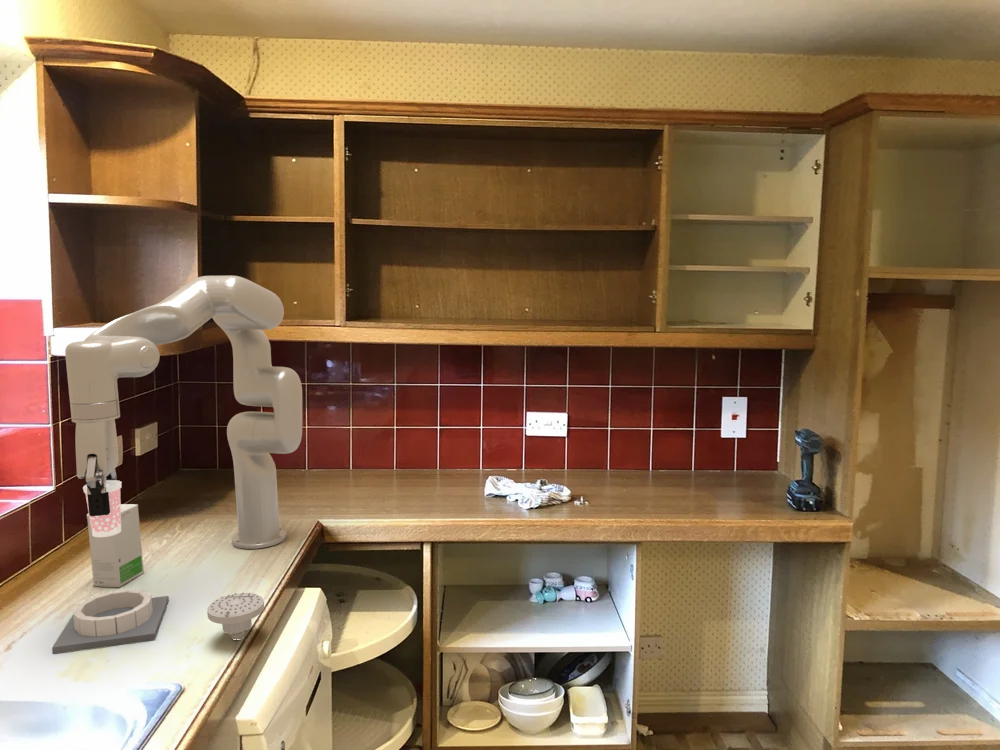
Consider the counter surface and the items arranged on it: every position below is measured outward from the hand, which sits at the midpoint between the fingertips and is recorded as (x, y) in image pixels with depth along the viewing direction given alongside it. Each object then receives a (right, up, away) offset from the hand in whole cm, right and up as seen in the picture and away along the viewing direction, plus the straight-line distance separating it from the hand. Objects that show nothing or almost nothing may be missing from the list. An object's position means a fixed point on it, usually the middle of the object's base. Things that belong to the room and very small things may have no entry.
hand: (104, 508), depth 131 cm
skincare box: (-10, -20, +24) cm, 32 cm away
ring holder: (0, -22, +3) cm, 22 cm away
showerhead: (+25, -23, -2) cm, 34 cm away
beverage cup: (0, -5, +1) cm, 5 cm away
